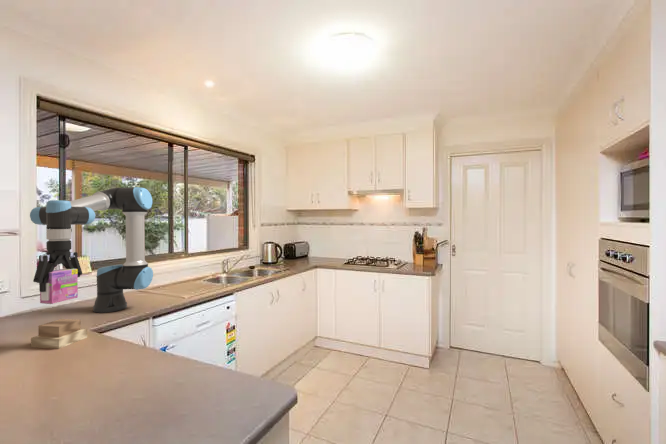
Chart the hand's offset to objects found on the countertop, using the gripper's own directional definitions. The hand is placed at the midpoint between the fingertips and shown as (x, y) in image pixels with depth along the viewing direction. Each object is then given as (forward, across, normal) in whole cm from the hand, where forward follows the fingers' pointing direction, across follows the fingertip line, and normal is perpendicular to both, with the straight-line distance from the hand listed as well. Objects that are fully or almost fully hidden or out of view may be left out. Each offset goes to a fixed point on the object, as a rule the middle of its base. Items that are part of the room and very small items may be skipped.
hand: (59, 296), depth 130 cm
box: (+2, 0, 0) cm, 2 cm away
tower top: (+14, 0, 0) cm, 14 cm away
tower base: (+18, 0, 0) cm, 18 cm away
